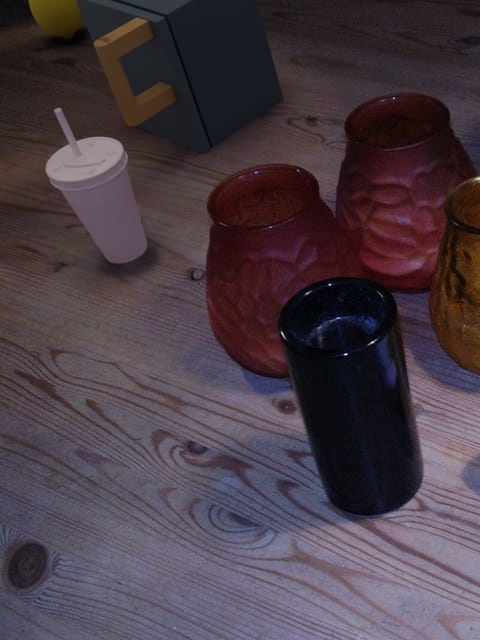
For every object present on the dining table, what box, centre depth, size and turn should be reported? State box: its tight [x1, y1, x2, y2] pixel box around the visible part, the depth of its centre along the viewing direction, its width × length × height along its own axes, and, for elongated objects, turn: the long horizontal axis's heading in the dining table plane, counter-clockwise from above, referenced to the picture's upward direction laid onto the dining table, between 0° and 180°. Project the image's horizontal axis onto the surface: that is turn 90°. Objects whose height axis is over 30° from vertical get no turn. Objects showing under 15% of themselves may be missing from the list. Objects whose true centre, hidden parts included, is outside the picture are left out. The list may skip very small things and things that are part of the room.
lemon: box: [28, 0, 84, 40], centre depth 115 cm, size 6×6×8 cm
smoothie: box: [45, 107, 148, 264], centre depth 83 cm, size 6×6×14 cm
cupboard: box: [111, 0, 285, 149], centre depth 98 cm, size 10×12×14 cm
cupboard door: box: [76, 0, 212, 155], centre depth 94 cm, size 6×12×14 cm, turn 53°
